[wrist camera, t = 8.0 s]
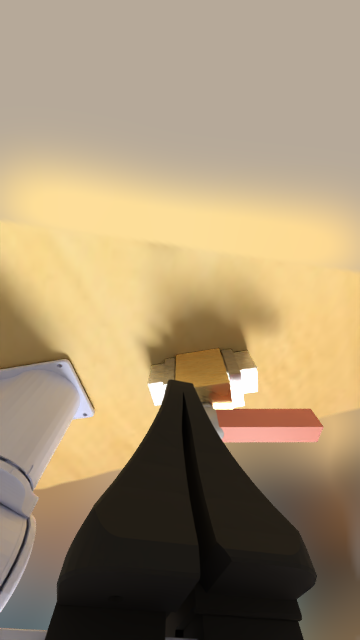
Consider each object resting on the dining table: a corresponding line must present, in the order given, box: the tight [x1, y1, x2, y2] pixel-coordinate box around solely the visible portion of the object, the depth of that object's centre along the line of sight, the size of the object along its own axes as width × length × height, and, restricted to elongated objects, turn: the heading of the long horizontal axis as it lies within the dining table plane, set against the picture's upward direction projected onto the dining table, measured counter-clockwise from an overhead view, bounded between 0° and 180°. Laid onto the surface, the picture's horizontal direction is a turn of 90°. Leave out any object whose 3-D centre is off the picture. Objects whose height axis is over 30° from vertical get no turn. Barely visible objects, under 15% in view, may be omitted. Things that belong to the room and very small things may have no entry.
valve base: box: [148, 348, 258, 409], centre depth 19 cm, size 10×4×6 cm, turn 101°
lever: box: [204, 407, 323, 442], centre depth 16 cm, size 9×2×2 cm, turn 90°
